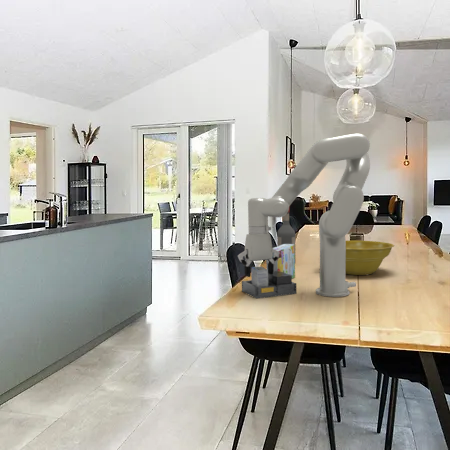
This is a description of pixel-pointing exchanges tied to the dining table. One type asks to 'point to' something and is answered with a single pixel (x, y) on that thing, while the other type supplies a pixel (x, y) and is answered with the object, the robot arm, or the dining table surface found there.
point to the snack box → (285, 259)
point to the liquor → (286, 232)
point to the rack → (271, 286)
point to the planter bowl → (365, 256)
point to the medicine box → (259, 276)
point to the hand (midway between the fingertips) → (259, 275)
